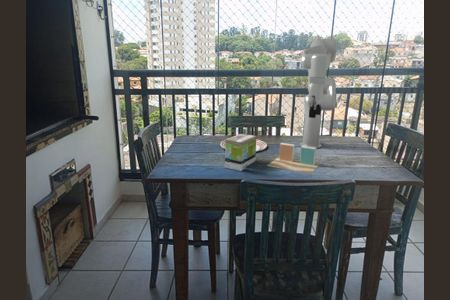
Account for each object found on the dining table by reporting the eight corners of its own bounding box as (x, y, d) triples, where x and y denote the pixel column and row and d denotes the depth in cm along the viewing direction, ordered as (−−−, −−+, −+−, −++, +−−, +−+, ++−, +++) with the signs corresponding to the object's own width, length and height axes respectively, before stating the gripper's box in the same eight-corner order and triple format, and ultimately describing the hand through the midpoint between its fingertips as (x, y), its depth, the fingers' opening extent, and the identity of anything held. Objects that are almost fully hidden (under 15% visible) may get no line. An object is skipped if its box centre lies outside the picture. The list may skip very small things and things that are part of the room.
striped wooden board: (278, 159, 173) (278, 156, 173) (319, 165, 163) (319, 163, 162) (266, 167, 160) (266, 165, 159) (310, 176, 149) (310, 173, 149)
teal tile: (301, 161, 165) (302, 145, 163) (314, 164, 162) (316, 147, 159) (299, 163, 163) (300, 147, 160) (313, 165, 160) (314, 149, 157)
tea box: (241, 171, 155) (242, 142, 151) (224, 167, 160) (224, 139, 156) (256, 163, 167) (256, 135, 163) (239, 159, 172) (239, 132, 168)
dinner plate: (275, 152, 184) (275, 147, 183) (231, 158, 175) (231, 152, 174) (253, 141, 209) (254, 136, 208) (214, 145, 199) (213, 140, 198)
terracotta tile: (280, 158, 170) (281, 142, 168) (293, 160, 167) (294, 144, 164) (279, 159, 168) (279, 144, 166) (292, 161, 165) (293, 145, 162)
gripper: (314, 79, 166) (312, 112, 171) (304, 81, 151) (302, 118, 157) (329, 79, 162) (326, 114, 167) (320, 82, 148) (317, 119, 153)
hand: (314, 115), depth 162 cm, fingers open, 8 cm apart
